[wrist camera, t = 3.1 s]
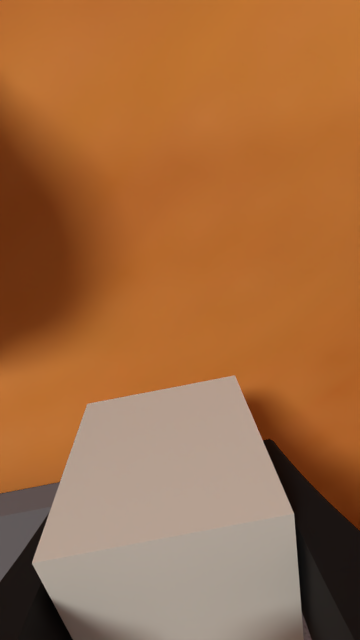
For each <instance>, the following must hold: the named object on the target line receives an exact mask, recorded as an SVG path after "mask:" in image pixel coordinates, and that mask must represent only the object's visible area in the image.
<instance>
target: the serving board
mask: <svg viewBox="0 0 360 640" xmlns="http://www.w3.org/2000/svg"><path fill="white" fill-rule="evenodd" d="M59 484H60V482H59V483H54V484H49V485H44V486H39V487H33V488H28V489H23V490H18V491H13V492H8V493H2V494H0V581H1V580H2V578H3V577H4V576H5V574H6V573H7V572H8V570H9V569H10V568H11V566H12V565H13V564H14V562H15V561H16V560H17V558H18V557H19V555H20V554H21V553H22V551H23V550H24V548H25V547H26V546H27V544H28V543H29V541H30V540H31V538H32V537H33V535H34V534H35V532H36V531H37V529H38V528H39V527H40V525H41V524H42V522H43V521H44V519H45V518H46V516H47V515H48V513H49V512H50V510H51V507H52V504H53V501H54V498H55V495H56V492H57V490H58V487H59Z"/></svg>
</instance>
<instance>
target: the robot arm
mask: <svg viewBox="0 0 360 640" xmlns="http://www.w3.org/2000/svg"><path fill="white" fill-rule="evenodd" d="M263 442H264V445H265V447H266V449H267V452H268V454H269V456H270V459H271V461H272V463H273V466H274V468H275V470H276V473H277V475H278V477H279V480H280V482H281V484H282V487H283V489H284V491H285V494H286V496H287V498H288V501H289V503H290V505H291V508H292V510H293V512H294V519H295V532H296V545H297V558H298V571H299V584H300V597H301V611H302V613H303V616H304V619H305V622H306V624H307V627H308V630H309V633H310V636H311V639H312V640H360V531H359V530H358V529H357V528H356V527H355V526H354V525H353V524H352V523H350V522H349V521H348V520H347V519H346V518H345V517H344V516H343V515H342V514H341V513H340V512H339V511H338V510H336V509H335V508H334V507H333V506H332V505H331V504H330V503H329V502H328V501H327V500H326V499H325V498H324V497H323V496H322V495H321V494H320V493H319V492H318V491H317V490H316V489H315V488H314V487H313V486H312V485H311V484H310V483H309V482H308V481H307V480H306V479H305V478H304V476H303V475H302V474H301V473H300V472H299V471H298V470H297V469H296V468H295V467H294V465H293V464H292V463H291V462H290V461H289V460H288V459H287V457H286V456H285V455H284V454H283V453H282V451H281V450H280V449H279V448H278V447H277V445H276V444H275V443H274V441H272V440H270V439H268V440H263ZM48 515H49V513H48ZM48 515H47V516H46V518H45V519H44V521H43V522H42V524H41V525H40V527H39V528H38V529H37V531H36V532H35V534H34V535H33V537H32V538H31V540H30V541H29V543H28V544H27V546H26V547H25V548H24V550H23V551H22V553H21V554H20V555H19V557H18V558H17V560H16V561H15V562H14V564H13V565H12V566H11V568H10V569H9V570H8V572H7V573H6V574H5V576H4V577H3V578H2V580H1V581H0V640H73V639H72V637H71V635H70V633H69V632H68V630H67V628H66V626H65V624H64V622H63V620H62V618H61V617H60V615H59V613H58V611H57V609H56V607H55V605H54V604H53V602H52V600H51V598H50V596H49V594H48V592H47V591H46V589H45V587H44V585H43V583H42V581H41V579H40V578H39V576H38V574H37V572H36V570H35V568H34V566H33V565H32V561H33V558H34V555H35V553H36V550H37V547H38V544H39V541H40V538H41V535H42V533H43V530H44V527H45V524H46V521H47V518H48Z"/></svg>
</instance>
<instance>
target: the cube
mask: <svg viewBox="0 0 360 640" xmlns="http://www.w3.org/2000/svg"><path fill="white" fill-rule="evenodd" d="M32 565H33V566H34V568H35V570H36V572H37V574H38V576H39V578H40V579H41V581H42V583H43V585H44V587H45V589H46V591H47V592H48V594H49V596H50V598H51V600H52V602H53V604H54V605H55V607H56V609H57V611H58V613H59V615H60V617H61V618H62V620H63V622H64V624H65V626H66V628H67V630H68V632H69V633H70V635H71V637H72V639H73V640H304V637H303V624H302V611H301V597H300V584H299V571H298V558H297V545H296V532H295V519H294V512H293V510H292V508H291V505H290V503H289V501H288V498H287V496H286V494H285V491H284V489H283V487H282V484H281V482H280V480H279V477H278V475H277V473H276V470H275V468H274V466H273V463H272V461H271V459H270V456H269V454H268V452H267V449H266V447H265V445H264V442H263V440H262V438H261V435H260V433H259V431H258V428H257V426H256V424H255V421H254V419H253V417H252V414H251V412H250V410H249V407H248V405H247V403H246V400H245V398H244V396H243V393H242V391H241V389H240V386H239V384H238V382H237V379H236V377H235V376H230V377H225V378H220V379H214V380H209V381H204V382H199V383H194V384H188V385H183V386H178V387H173V388H168V389H163V390H157V391H152V392H147V393H142V394H137V395H131V396H126V397H121V398H116V399H111V400H105V401H100V402H95V403H90V404H87V407H86V409H85V412H84V415H83V418H82V421H81V424H80V427H79V429H78V432H77V435H76V438H75V441H74V444H73V447H72V450H71V452H70V455H69V458H68V461H67V464H66V467H65V470H64V472H63V475H62V478H61V481H60V484H59V487H58V490H57V492H56V495H55V498H54V501H53V504H52V507H51V510H50V512H49V515H48V518H47V521H46V524H45V527H44V530H43V533H42V535H41V538H40V541H39V544H38V547H37V550H36V553H35V555H34V558H33V561H32Z"/></svg>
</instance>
